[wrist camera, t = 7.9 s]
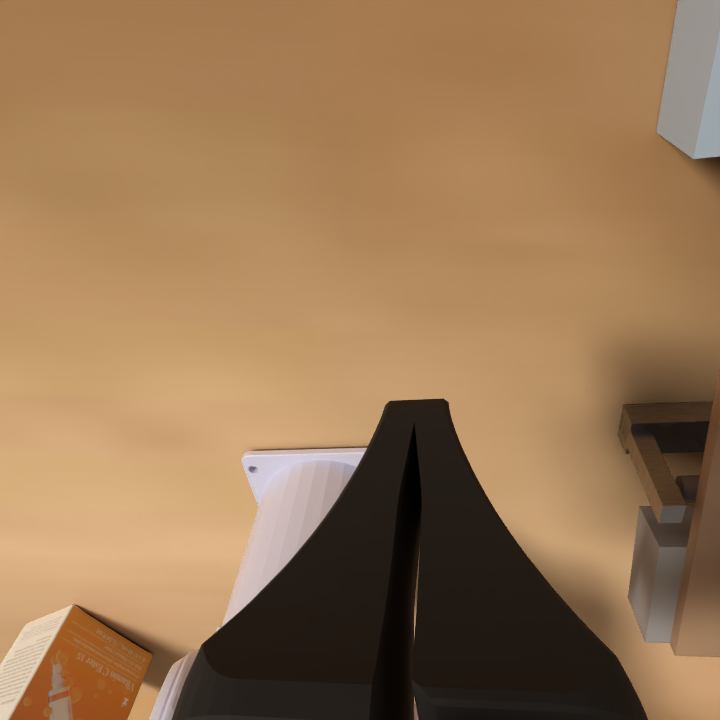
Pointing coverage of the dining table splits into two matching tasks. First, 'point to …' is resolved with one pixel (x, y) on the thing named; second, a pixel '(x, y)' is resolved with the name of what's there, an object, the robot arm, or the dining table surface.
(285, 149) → the dining table surface
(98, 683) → the small box
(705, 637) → the lever
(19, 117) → the dining table surface
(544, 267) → the dining table surface
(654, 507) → the fulcrum
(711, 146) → the shallow blue tray
